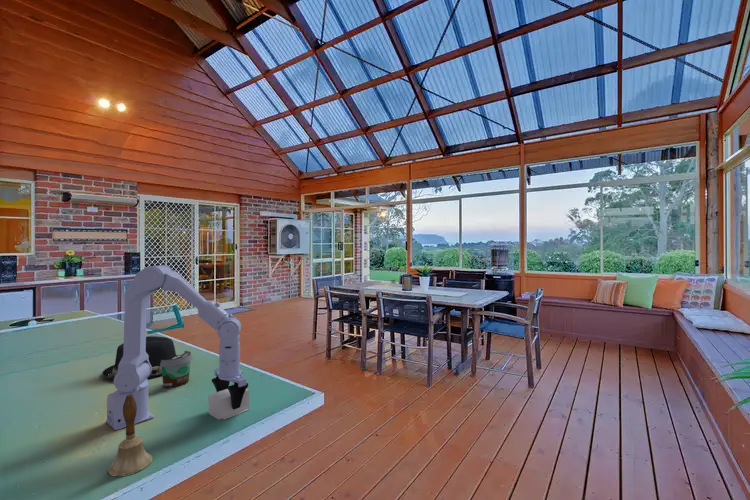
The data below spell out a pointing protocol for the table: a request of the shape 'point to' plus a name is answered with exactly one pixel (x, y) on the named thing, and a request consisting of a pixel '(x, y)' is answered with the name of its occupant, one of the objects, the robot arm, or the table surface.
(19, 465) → the table surface
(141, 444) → the hand bell
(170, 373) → the food container
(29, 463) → the table surface
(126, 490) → the table surface
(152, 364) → the fedora
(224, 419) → the light gray square block
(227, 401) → the off-white rectangular block
